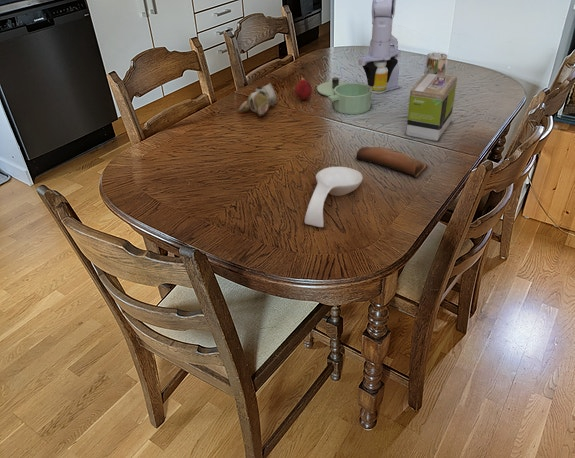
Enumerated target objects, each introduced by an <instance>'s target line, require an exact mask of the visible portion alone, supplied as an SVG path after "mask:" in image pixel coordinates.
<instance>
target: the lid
mask: <svg viewBox="0 0 575 458" xmlns="http://www.w3.org/2000/svg"><path fill="white" fill-rule="evenodd" d="M344 83H347V82H346V81H340V78H339V77H337V76H335V77H332V79H331V81H326V82H322V83H320V84H318V85H317V87H316V91H317V92H318V93H319V94H320V95H322V96H327V97H328V96H332V95H334V89H335V87H336V86H338V85H340V84H344Z"/></svg>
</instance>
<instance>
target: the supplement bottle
mask: <svg viewBox="0 0 575 458" xmlns="http://www.w3.org/2000/svg"><path fill="white" fill-rule="evenodd" d="M386 63H387V61H386V60H382V61H378V62H374V65H375V66H377V67H378V68H377V70H376V73H375V80H374V86H372V87H371V86H369V90H370V92H372V94H376V95H378V94H384V93H385V92H387V91H386V86H387V75H388V69H387V67H385V66H386Z"/></svg>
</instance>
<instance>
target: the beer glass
mask: <svg viewBox="0 0 575 458" xmlns="http://www.w3.org/2000/svg"><path fill="white" fill-rule="evenodd" d="M447 66H448V55H447V54H446V53H443V52H430V53H428V54H427V55H426V59H425V63H424V69H423V70H424V72H423V76H424V75H425V74H426V73H429V74H437V75H445V76H446V72H447Z"/></svg>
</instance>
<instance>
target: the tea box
mask: <svg viewBox="0 0 575 458" xmlns="http://www.w3.org/2000/svg"><path fill="white" fill-rule="evenodd" d="M457 82H458V76H453V75H446V74H445V75H437V74H429V73H426V74H425V75H424V74H423V76H422V77H421V78H420V79H419V80H418V81H417V83H415V84H414V85H413V87H412V88H410V91H409V99H408V108H407V109H408V111H407V120H406V131H405V132H406V133H405V135H406V136H408V137H412V138H413V137H414V138H419V139H424V140H429V141H436V142H437V141H438V140H439V139H440V138H441V136H442V135H443V133H444V132H445V131H446V129H447V128H448V126H449V125H450V123H451V122H452V118H453V110H454V103H455V96H456V88H457Z"/></svg>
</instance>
